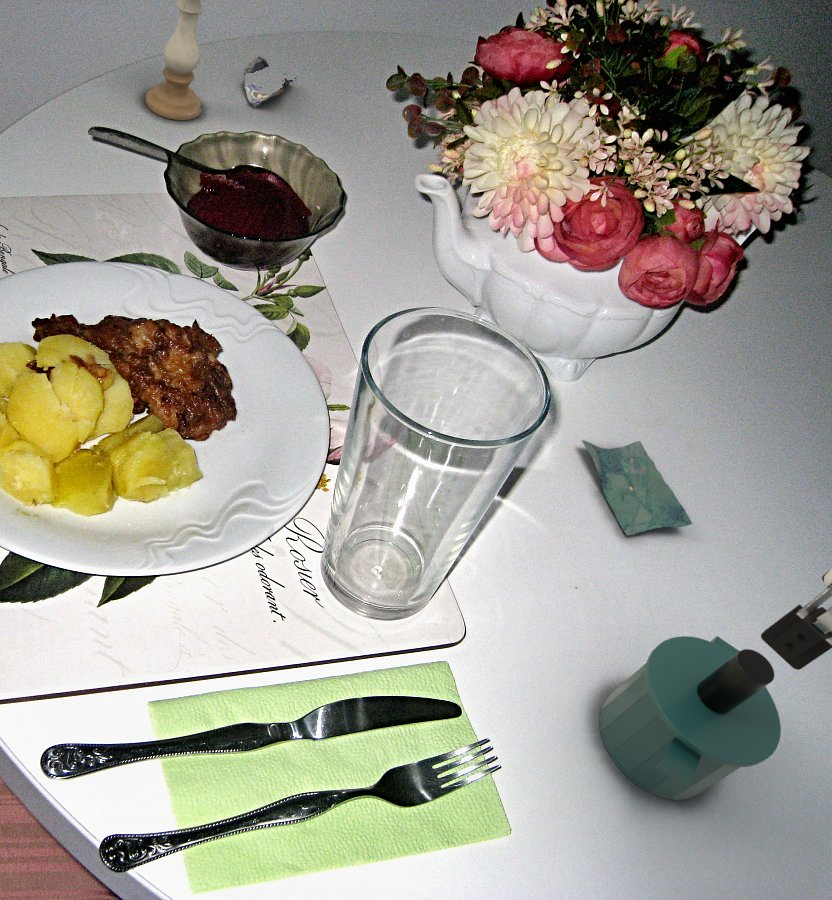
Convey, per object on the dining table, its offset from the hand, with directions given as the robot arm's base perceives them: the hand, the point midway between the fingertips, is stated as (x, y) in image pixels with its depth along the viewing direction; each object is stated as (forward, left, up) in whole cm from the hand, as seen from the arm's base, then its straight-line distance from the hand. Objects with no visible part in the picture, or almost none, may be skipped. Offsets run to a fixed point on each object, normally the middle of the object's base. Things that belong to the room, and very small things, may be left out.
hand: (810, 621), depth 66 cm
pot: (0, 0, -21) cm, 21 cm away
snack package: (+106, -38, -21) cm, 115 cm away
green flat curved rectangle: (+20, -24, -21) cm, 38 cm away
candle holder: (+107, -20, -21) cm, 111 cm away
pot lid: (0, 0, -13) cm, 13 cm away
